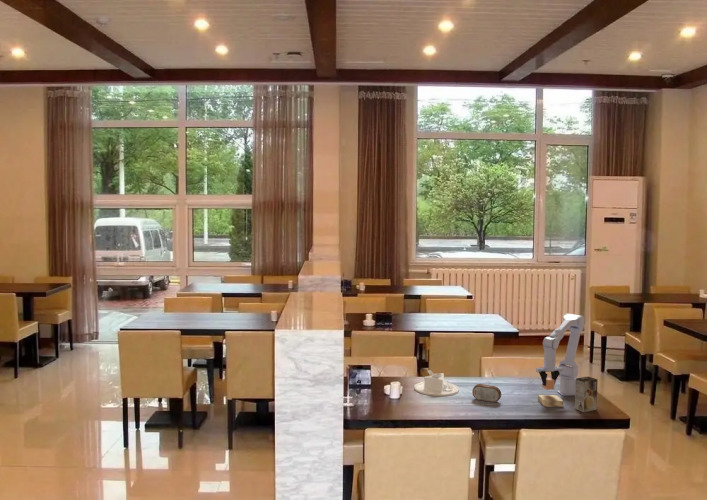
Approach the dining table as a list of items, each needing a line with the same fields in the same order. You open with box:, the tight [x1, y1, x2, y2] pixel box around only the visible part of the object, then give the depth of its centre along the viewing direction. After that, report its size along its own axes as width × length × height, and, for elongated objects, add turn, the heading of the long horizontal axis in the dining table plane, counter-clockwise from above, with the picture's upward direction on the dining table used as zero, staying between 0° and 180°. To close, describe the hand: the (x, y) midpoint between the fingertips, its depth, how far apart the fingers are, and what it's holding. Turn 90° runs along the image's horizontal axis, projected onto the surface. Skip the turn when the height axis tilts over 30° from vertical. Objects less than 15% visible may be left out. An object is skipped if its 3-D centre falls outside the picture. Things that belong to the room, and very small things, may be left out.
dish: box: [413, 369, 460, 397], centre depth 360 cm, size 25×25×11 cm
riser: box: [537, 394, 564, 408], centre depth 339 cm, size 10×10×3 cm
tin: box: [472, 383, 502, 403], centre depth 341 cm, size 15×3×8 cm, turn 65°
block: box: [541, 377, 556, 391], centre depth 343 cm, size 4×4×5 cm
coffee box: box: [574, 376, 599, 413], centre depth 330 cm, size 9×6×16 cm
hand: (548, 385), depth 343 cm, fingers closed on block, 4 cm apart
